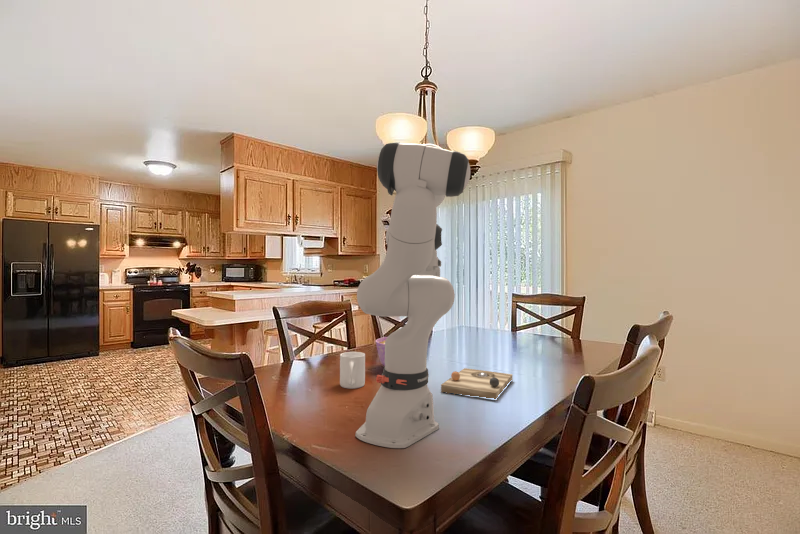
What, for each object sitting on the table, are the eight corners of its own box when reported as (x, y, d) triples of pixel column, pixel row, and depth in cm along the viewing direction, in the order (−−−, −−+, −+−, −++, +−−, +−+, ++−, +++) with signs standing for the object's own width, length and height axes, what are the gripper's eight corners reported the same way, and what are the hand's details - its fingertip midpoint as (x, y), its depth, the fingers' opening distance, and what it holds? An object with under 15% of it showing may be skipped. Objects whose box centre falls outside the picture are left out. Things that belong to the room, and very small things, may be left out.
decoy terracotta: (458, 382, 133) (458, 373, 133) (449, 380, 135) (449, 371, 135) (461, 379, 136) (461, 371, 136) (452, 378, 137) (453, 369, 137)
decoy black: (497, 388, 126) (497, 379, 126) (488, 387, 127) (488, 378, 127) (500, 386, 129) (500, 377, 129) (490, 384, 130) (491, 375, 130)
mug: (337, 392, 129) (337, 359, 129) (341, 381, 141) (341, 351, 141) (363, 392, 130) (363, 359, 130) (365, 381, 142) (365, 351, 142)
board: (495, 401, 122) (495, 393, 122) (441, 392, 130) (441, 384, 130) (512, 381, 143) (512, 374, 143) (464, 374, 151) (464, 368, 151)
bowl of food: (426, 364, 168) (426, 336, 167) (424, 377, 148) (424, 346, 148) (379, 362, 169) (379, 335, 169) (371, 375, 150) (371, 344, 150)
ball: (486, 385, 140) (486, 377, 139) (477, 383, 142) (476, 375, 140) (489, 378, 143) (488, 371, 141) (479, 377, 144) (478, 369, 143)
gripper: (420, 261, 129) (419, 303, 129) (443, 261, 147) (442, 299, 147) (402, 261, 132) (402, 302, 132) (427, 261, 150) (427, 298, 150)
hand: (424, 300), depth 140 cm, fingers closed
